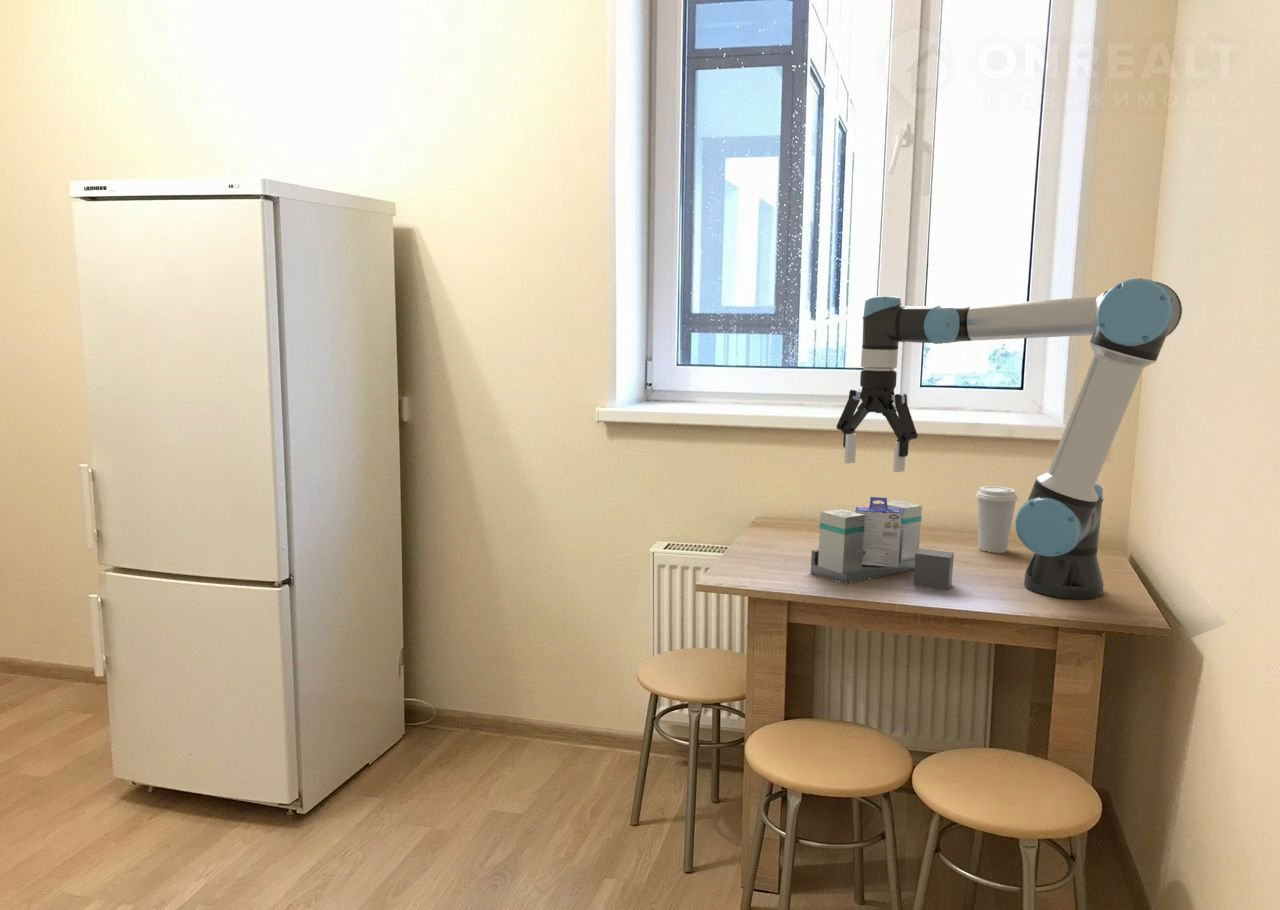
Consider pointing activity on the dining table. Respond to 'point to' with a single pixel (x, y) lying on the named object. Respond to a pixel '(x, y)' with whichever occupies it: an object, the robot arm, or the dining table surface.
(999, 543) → the coffee cup
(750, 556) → the dining table surface
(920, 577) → the block
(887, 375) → the robot arm
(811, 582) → the dining table surface
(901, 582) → the dining table surface
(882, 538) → the ink cartridge box
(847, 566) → the grey stand with boxes
